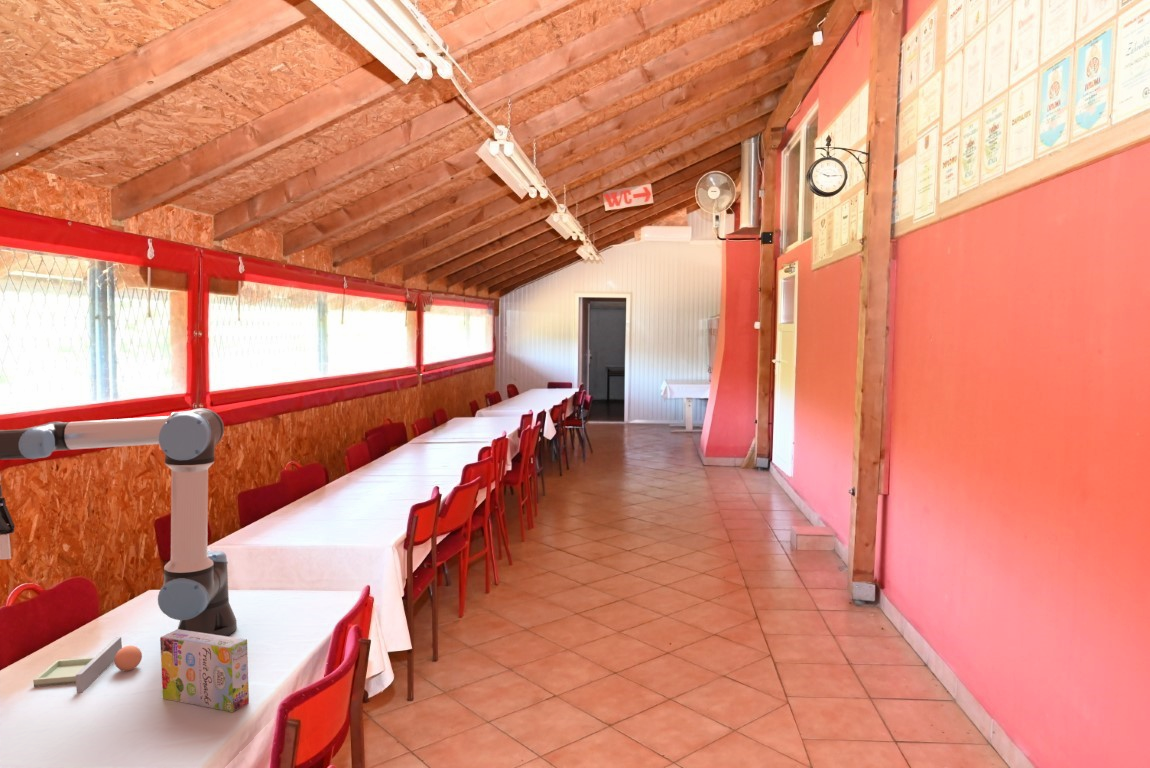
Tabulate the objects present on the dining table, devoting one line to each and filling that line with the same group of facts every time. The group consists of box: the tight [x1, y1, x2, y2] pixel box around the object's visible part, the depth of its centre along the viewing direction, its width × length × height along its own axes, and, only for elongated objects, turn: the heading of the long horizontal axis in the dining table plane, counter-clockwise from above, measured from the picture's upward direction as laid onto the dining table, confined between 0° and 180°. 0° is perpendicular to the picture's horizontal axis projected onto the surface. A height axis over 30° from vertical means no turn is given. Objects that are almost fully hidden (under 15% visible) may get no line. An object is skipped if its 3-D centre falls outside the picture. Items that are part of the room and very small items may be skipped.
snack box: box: [159, 628, 250, 713], centre depth 170 cm, size 21×6×15 cm, turn 71°
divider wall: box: [75, 636, 123, 694], centre depth 185 cm, size 1×22×4 cm, turn 10°
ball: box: [113, 645, 143, 672], centre depth 186 cm, size 6×6×6 cm
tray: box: [33, 656, 95, 688], centre depth 184 cm, size 11×11×2 cm
